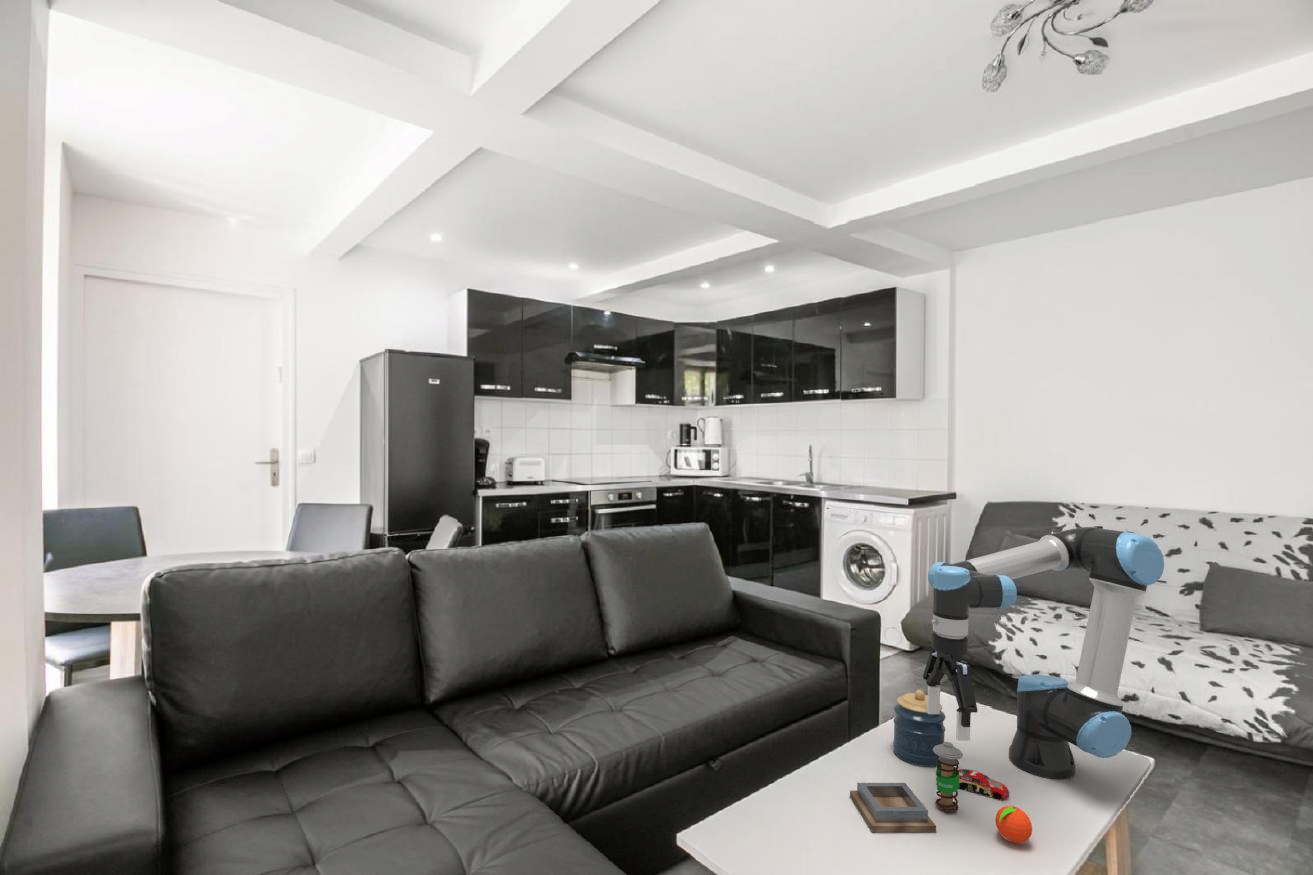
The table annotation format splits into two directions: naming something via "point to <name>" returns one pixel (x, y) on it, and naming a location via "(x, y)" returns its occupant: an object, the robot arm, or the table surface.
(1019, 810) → the clementine
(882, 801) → the plate
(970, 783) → the race car
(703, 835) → the table surface
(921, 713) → the canister
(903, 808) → the socket collar
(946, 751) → the shock absorber
